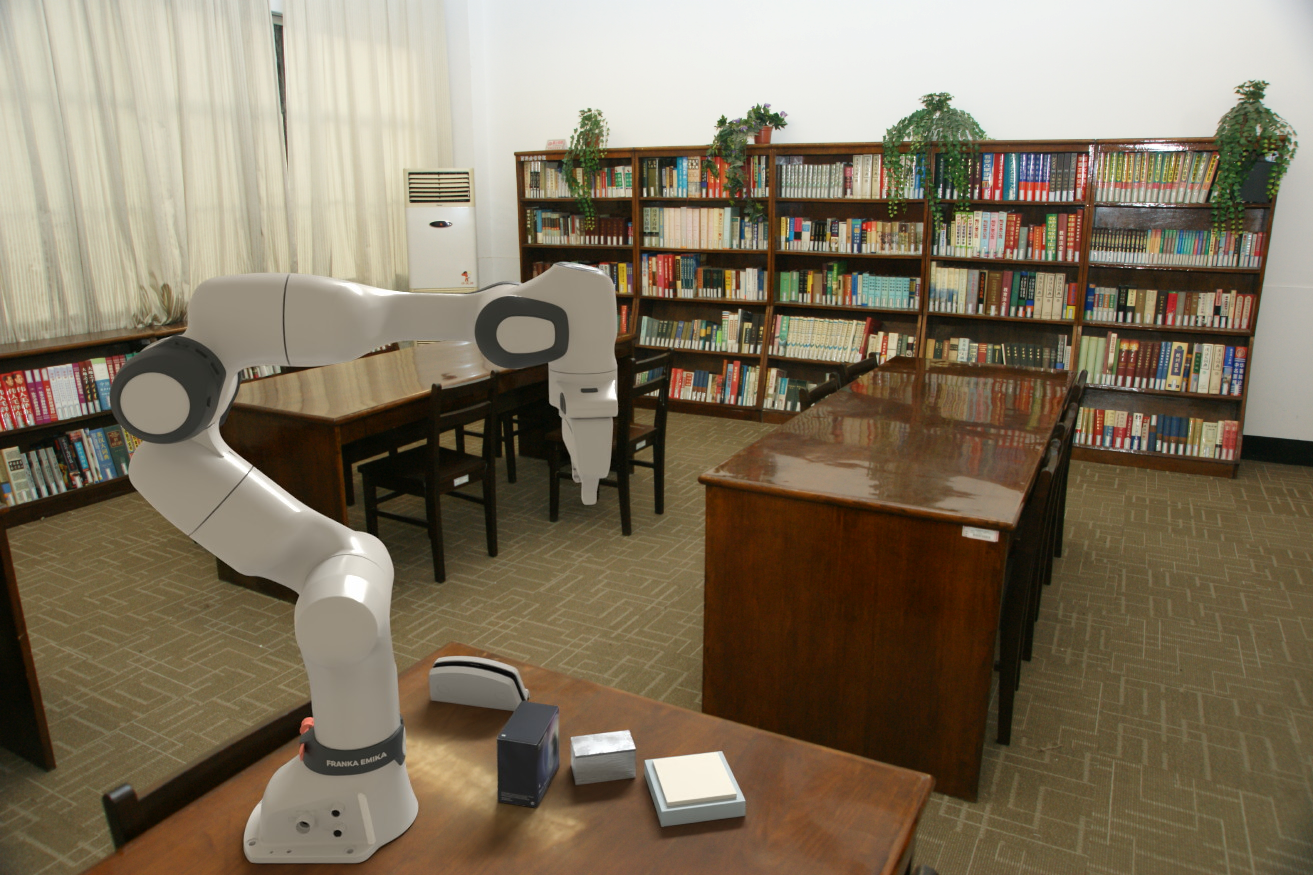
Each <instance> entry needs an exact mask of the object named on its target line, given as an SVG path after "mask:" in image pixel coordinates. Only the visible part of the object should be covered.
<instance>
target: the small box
mask: <svg viewBox="0 0 1313 875" xmlns="http://www.w3.org/2000/svg"><path fill="white" fill-rule="evenodd" d="M496 767H497V769H496V771H497V772H496V773H497V779H496V780H497V792H496V793H497V798H496V801H497V803H505V804H512V805H516V806H523V807H527V808H528V807H529V808H536V809H537V808H538V806H539V805H540V803H541V802H542V799H543V797H544V795H545V794H546V792H547V789H548V788H549V786H550V784H551V783H552V781H553V779H554V776H555V775H556V774H557V771H558V770H559V767H560V706H559V705H554V704H545V703H541V702H540V703H539V702H538V703H537V702H533V701H532V702H531V701H528V700H527V701H521V702H520V704H519V705H518V707H517V708H516V710H515V711H513V713H512V715H511V716H510V718H509V719H508V721H507V722H506V723H505V725H504V726H503V728H502V730H500V732H499V733H498V735H497V737H496Z"/></svg>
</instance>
